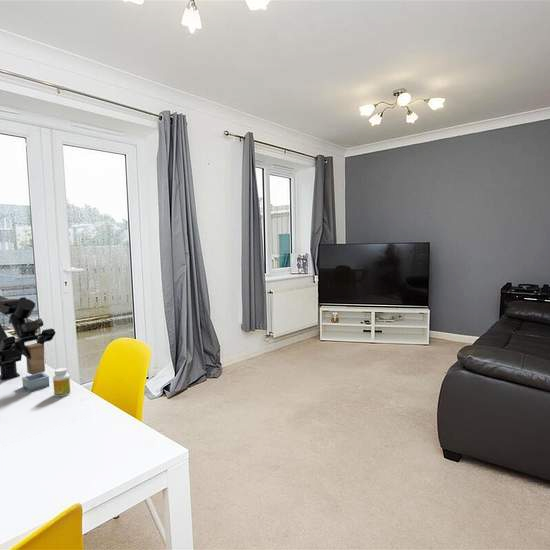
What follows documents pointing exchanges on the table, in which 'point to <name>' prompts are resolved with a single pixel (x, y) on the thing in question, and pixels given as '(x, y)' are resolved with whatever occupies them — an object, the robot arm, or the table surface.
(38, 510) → the table surface
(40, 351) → the walnut block
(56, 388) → the supplement bottle
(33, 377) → the bin
